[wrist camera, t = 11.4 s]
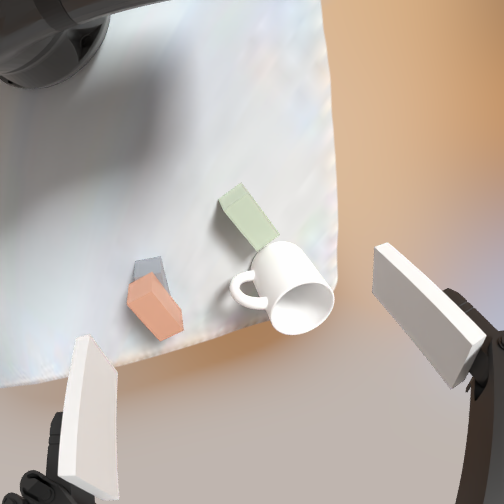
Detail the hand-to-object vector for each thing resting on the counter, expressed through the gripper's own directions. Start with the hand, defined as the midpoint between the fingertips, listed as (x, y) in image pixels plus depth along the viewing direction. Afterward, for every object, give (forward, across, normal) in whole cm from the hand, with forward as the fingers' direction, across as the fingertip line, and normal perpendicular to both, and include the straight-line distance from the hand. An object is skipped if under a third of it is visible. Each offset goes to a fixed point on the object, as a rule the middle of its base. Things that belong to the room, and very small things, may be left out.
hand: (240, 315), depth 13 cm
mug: (+27, +6, -17) cm, 32 cm away
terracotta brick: (+23, -9, -14) cm, 28 cm away
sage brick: (+27, +5, -8) cm, 29 cm away
